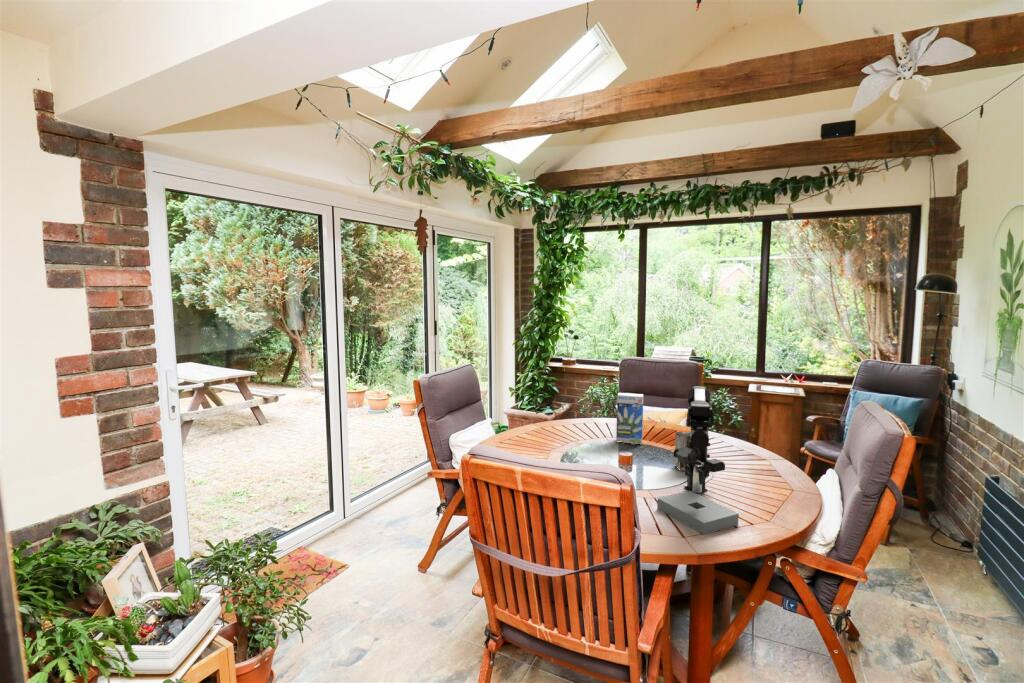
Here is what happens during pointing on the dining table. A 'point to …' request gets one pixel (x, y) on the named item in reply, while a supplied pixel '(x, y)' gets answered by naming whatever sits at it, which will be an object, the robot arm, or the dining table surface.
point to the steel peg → (696, 480)
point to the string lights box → (629, 417)
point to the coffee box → (681, 446)
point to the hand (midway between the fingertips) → (697, 482)
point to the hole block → (698, 512)
